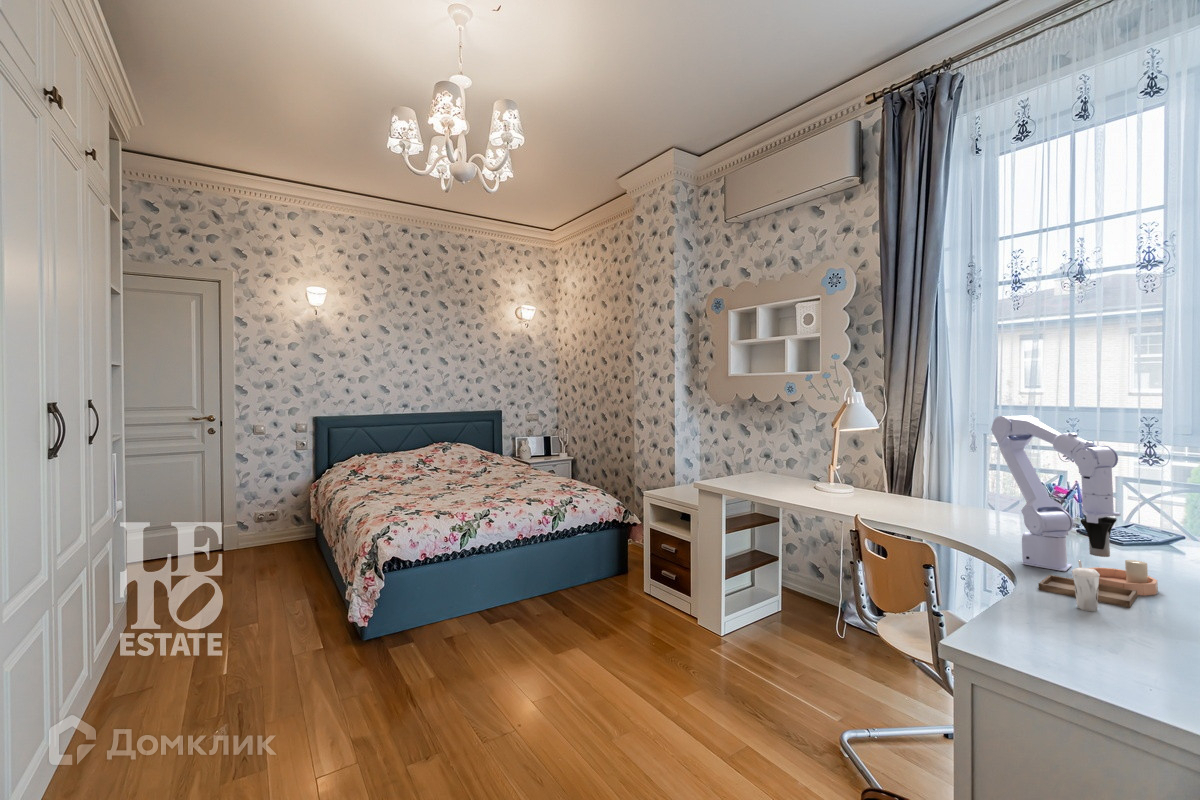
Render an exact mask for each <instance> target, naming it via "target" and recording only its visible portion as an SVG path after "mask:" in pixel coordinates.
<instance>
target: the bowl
mask: <svg viewBox="0 0 1200 800" xmlns="http://www.w3.org/2000/svg"><path fill="white" fill-rule="evenodd" d="M1088 568H1089V569H1095V570H1096V571H1097V572H1098V573H1099V574H1100V577H1099V584H1103V585H1108V586H1114V587H1119V588H1125V589H1130V590H1136V591H1137V596H1142V597H1143V596H1153V595H1157V594H1158V592H1159V587H1158V586H1159V583H1158V579H1156V578H1155V577H1152V576H1150V575H1148V583H1141V584H1139V583H1126V570H1125V569H1118V568H1112V567H1099V566H1097V567H1088Z"/></svg>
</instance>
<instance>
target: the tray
mask: <svg viewBox="0 0 1200 800" xmlns="http://www.w3.org/2000/svg"><path fill="white" fill-rule="evenodd" d="M1038 590H1039V591H1045V592H1050V593H1055V594H1059V595H1062V596H1064V595H1065V596H1069V597H1075V598H1076V594H1075V587H1074V580H1073V578H1069V577H1064V576H1058V575H1053V574H1048V575H1047V576H1046V577H1045V578H1043V579H1042V580H1041V581H1039V582H1038ZM1137 598H1138V595H1137V591H1136V590H1130V589H1125V588H1119V587H1114V586H1108V585H1103V584H1099V589H1098V603H1099V602H1100V603H1104V604H1109V605H1114V606H1118V607H1122V608H1123V607H1124V608H1129V609H1130V608H1131V607H1132V605H1133V604H1134V602H1135V601H1136V600H1137Z"/></svg>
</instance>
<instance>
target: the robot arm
mask: <svg viewBox="0 0 1200 800" xmlns="http://www.w3.org/2000/svg"><path fill="white" fill-rule="evenodd" d="M990 431H991V432H992V434H993V436H994V438H995V439H996V442H997V444H998V447H999V450H1000V453H1001V454H1002V457H1003V459H1004V461H1005V463H1006V464H1007V467H1008V469H1009V471H1010V472H1011V475H1012V477H1013V479H1014V481H1015V483H1016V484H1017V486H1018V488H1019V490H1020V492H1021V494H1022V496H1023V499H1024V501H1025V502H1026V504H1025V505H1024V506H1023V507H1022V509H1021V510H1020V511H1021V514H1022V516H1023V522H1024V526H1025V527H1026V529H1027V530H1028V531H1024V532H1023V533H1022V535H1021V552H1022V553H1021V555H1022V562H1021V564H1022V565H1025V566H1026V565H1027V566H1030V567H1031V566H1032V567H1037V568H1042V569H1043V568H1044V569H1050V570H1055V571H1060V572H1067V571H1068V569H1070V568H1071V567H1072V566H1073V564H1072V563H1068V554H1067V550H1068V549H1067V536H1069V533H1070V532H1071V531H1072V530H1073V528H1074V519H1073V517H1072V516H1071V514H1070V513H1069V512H1068V511H1067V510H1065V508H1064V506H1063V504H1061V503H1060V502H1058V501H1056V500H1055V499H1052V498H1051V497H1050V496H1049V494H1048V492H1047V490H1046V489H1045V486H1044V485H1043V483H1042V481H1041V479H1040V477H1039V476H1038V474H1037V472H1036V470H1035V468H1034V466H1033V464H1032V462H1031V460H1030V458H1029V456H1028V455H1027V453H1026V451H1025V447H1026V446H1027V445H1029V444H1030V442H1031V440H1032V439H1033V438H1034V437H1035V438H1038V439H1040V440H1042V441H1044V442H1047V443H1049V444H1052V447H1053V450H1055V452H1057V453H1060V454H1062V455H1063V456H1066V457H1068V458H1070V459H1071V460H1073V461H1074V463H1075V465H1076V466H1077V468H1078V473H1079V474H1080V476H1081V495H1082V496H1081V497H1082V501H1081V502H1082V509H1081V513H1082V514H1083V515H1085V518H1081V519H1079V520H1080V524H1081V525H1082V526H1083V529H1084V530H1085V532H1086V534H1087V537H1088V541H1089V540H1090V544H1091V546H1092V548H1095V549H1102V550H1103V549H1104V547H1105V542H1106V535H1107V532H1109V538H1110V537H1111V533H1112V532H1111V531H1112V529H1113V527H1114V525H1115V523H1116V522H1117V520H1118V519H1117V518H1116V517H1121V512H1118V511H1114V490H1113V489H1114V488H1113V487H1114V485H1113V468H1115V467H1116V466H1117V465H1118V462H1119V457H1118V456H1119V455H1118V454H1117V452H1116V451H1115V449H1113V448H1111V446H1109V445H1100V446H1099V445H1096V444H1095V442H1093V441H1090V440H1089V441H1088V440H1086V439H1084V438H1081V437H1079V435H1078V433H1076V432H1064V433H1061V432H1059V431H1057V430H1055V429H1054V428H1052V427H1050V426H1048V425H1046V424H1045V423H1043V422H1041V421H1040V418H1037V417H1034V416H1033V415H1030V414H1027V415H1026V414H1024V415H1006V416H1005V415H999V416H996V417H995V418H994V419H993V421H992V425H991V429H990Z"/></svg>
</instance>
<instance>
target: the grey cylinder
mask: <svg viewBox="0 0 1200 800" xmlns="http://www.w3.org/2000/svg"><path fill="white" fill-rule="evenodd" d="M1088 546H1089V547H1088V550H1089V552H1088V553H1089V555H1091V556H1095V557H1103V558H1109V557H1111V547H1110V537H1109V532H1107V535H1106V542H1105V547H1104V549H1103V550H1102V549H1095V548H1092V546H1091V544H1090V540H1089V539H1088Z"/></svg>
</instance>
